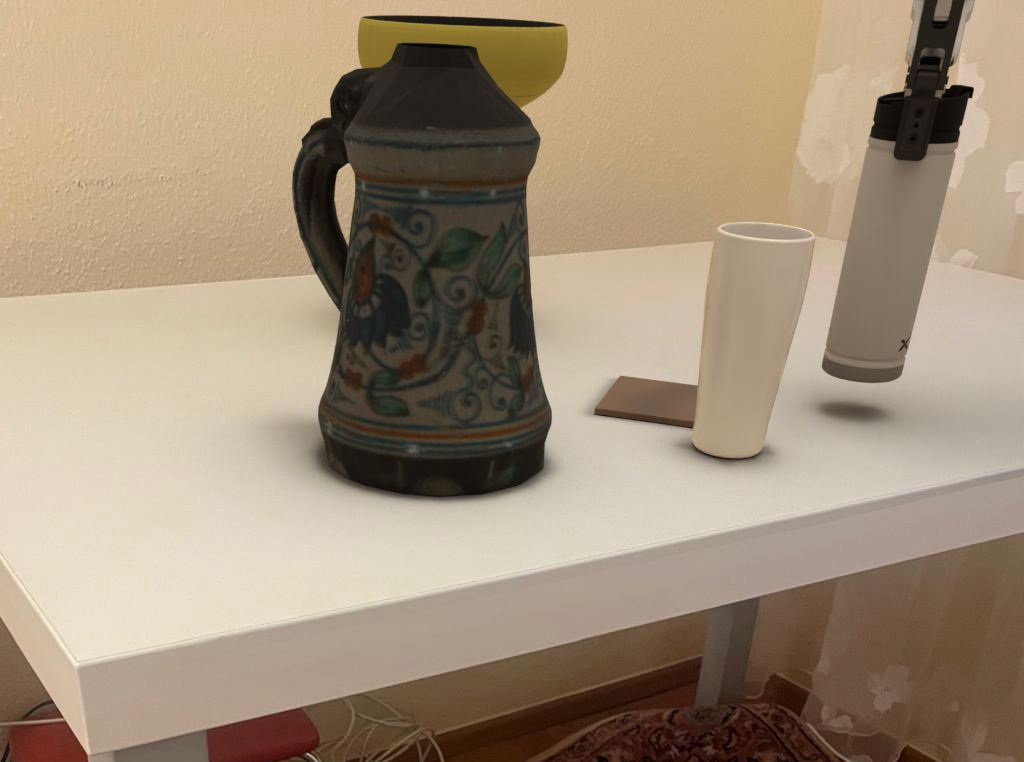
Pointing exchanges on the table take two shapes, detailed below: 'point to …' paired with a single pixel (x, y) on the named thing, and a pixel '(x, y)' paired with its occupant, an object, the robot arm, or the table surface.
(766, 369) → the drinking glass
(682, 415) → the coaster
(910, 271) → the travel mug
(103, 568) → the table surface
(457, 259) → the beer stein
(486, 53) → the cocktail glass
